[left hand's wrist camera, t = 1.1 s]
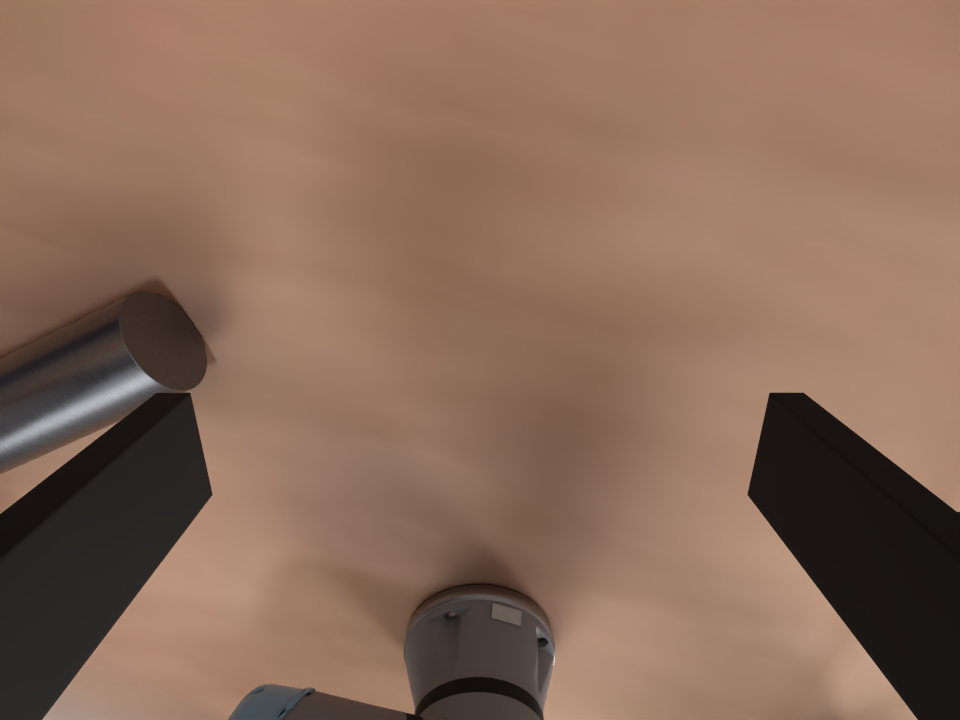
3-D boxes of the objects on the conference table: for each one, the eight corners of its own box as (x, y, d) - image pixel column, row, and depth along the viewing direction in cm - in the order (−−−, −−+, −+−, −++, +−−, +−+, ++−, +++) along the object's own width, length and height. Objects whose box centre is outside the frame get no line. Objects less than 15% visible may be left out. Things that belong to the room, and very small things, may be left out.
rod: (162, 279, 42) (96, 310, 35) (221, 363, 45) (171, 409, 38) (-91, 404, 47) (-196, 454, 39) (-23, 474, 49) (-110, 533, 42)
